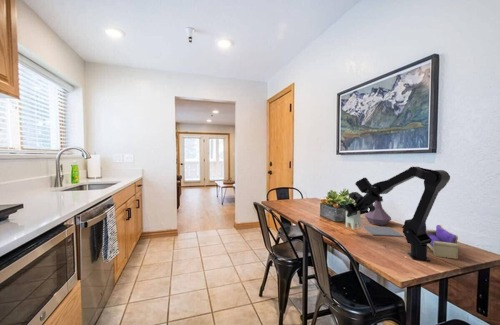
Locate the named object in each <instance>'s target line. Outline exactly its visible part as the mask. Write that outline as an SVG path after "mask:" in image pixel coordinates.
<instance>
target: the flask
mask: <svg viewBox="0 0 500 325" xmlns="http://www.w3.org/2000/svg"><path fill="white" fill-rule="evenodd" d="M379 195H380V196H381V194H379ZM382 205H383V204H382V202H377V201H375V202H374V203H373V206H374V207H375V210H374V211H373V212H369V213H365V214H364V217H365V219H366V220H368V222H369V224H372V225H375V224H376V225H375V226H386V225H387V224H388V223H389V222H391V221H392V217H391V216H390V215H389V214H388V213H387V212H386V211H385V209H384V208H383V206H382Z"/></svg>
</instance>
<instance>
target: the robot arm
mask: <svg viewBox="0 0 500 325" xmlns="http://www.w3.org/2000/svg"><path fill="white" fill-rule="evenodd" d="M414 178H418V179H421V180H423V186H424V190H423V191H422V192H423V193H422V194H421V197H420V200H419V202H418V204H417V207H416V209H415V211H414V214H413V216H412V218H411V219H405V221H404V223H403V226H402V227H401V228H402V233H403V236H404V238H405V241H406V243H407V244H409V245H410V252H407V255H408V256H409V257H410V258H411V259H412V260H415V261H425V262H431V259H430V258H429V257H428V246H427V244H430V243H431V241H432V239H431V238H430V237H429V236H428V235H427V234H426V229H427V224H426V223H427V220H428V217H429V215H430V213H431V210H432V208H433V206H434V204H435V201H436V199H437V197H438V195H439V193H440V192H441V191H442V190H443V189H444V188H445V187H446V186H447V184H448V183H449V182H450V180H451V175H450V174H449V172H447V171H446V170H444V169H443V170H442V169H435V170H434V169H429V168H423V167H421V166H410V167H409V168H407V169H406V170H403V171H402V172H400V173H398V174H396V175H394V176H392V177H390V178H388V179H385V180H381V181H379V182H378V181H377V182H375V183H373V184H372V183H371V182H370V181H369V179H368V178H367V177H362V178H361V179H359V180H357V181H356V182H355V183H354V184H355V186H356V187H357V189H358V190H359V191H360V192H361V193H362V194H364V195H362V194H360V193H359V192H358V191H353V192H352V191H351V192H350V193H349V194H348V197H349V199H351V200H353V201H354V203H353V202H346V203H345V204H343V207H344V209H345V211H348V213H347V217H350V216H353V215H357V212H358V211H359V212H360V216H361V215H365V214H366V213H369V212H373V211H374V210H375V207H374V203H375V201H377V202H381V203H382V202H384V199H383V196H382V195H386V194H389V193H390V192H391V191H393V189H395V187H397V186H399V185H401V184H403V183H405V182H407V181H410V180H411V179H414ZM379 194H380V195H379Z"/></svg>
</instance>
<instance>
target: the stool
mask: <svg viewBox="0 0 500 325" xmlns="http://www.w3.org/2000/svg"><path fill="white" fill-rule="evenodd" d="M347 213H348V211H347V210H345V228H347V229H348V228H349V226H350V227H351V230H356V229H358V230H359V229H361V215H360V212H359V211H358V212H357V215H353V216H350V217H347Z"/></svg>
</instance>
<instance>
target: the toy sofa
mask: <svg viewBox="0 0 500 325" xmlns="http://www.w3.org/2000/svg"><path fill="white" fill-rule="evenodd" d="M435 228H436V229H435V230H434V229H427V228H426V234H427V235H428V236H429V237H430V238H431V239H432V241H431V243H430V244H427V248H429V249H430V250H431V251H432V252H433V256H434V257H439V258H446V257H447V258H448V259H455V260H456V259H459V243H458V240H459V236H458V235H457V234H454V233H452V232H450V231H449V230H448V229H445V228H444V227H443V225H442V224H437V225H436V227H435Z"/></svg>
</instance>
